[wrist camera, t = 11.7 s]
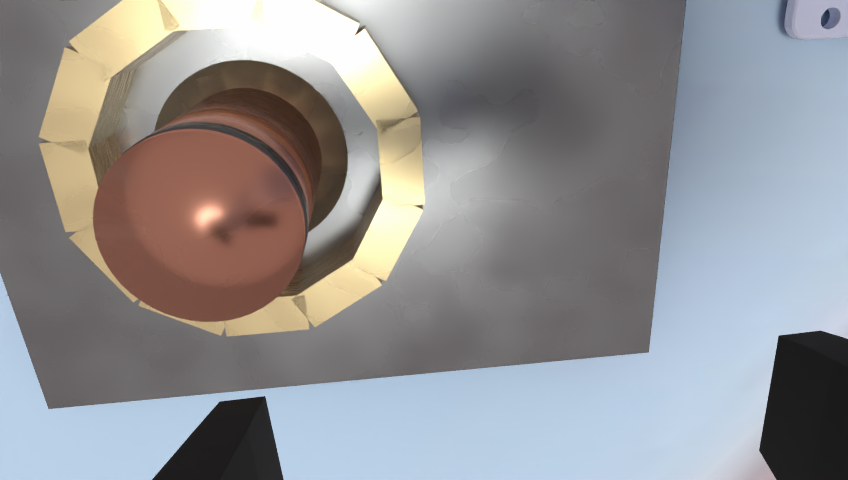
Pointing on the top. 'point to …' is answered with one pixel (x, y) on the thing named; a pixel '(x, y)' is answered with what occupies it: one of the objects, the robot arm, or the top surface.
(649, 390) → the top surface
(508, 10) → the collar plate
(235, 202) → the round knob
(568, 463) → the top surface
